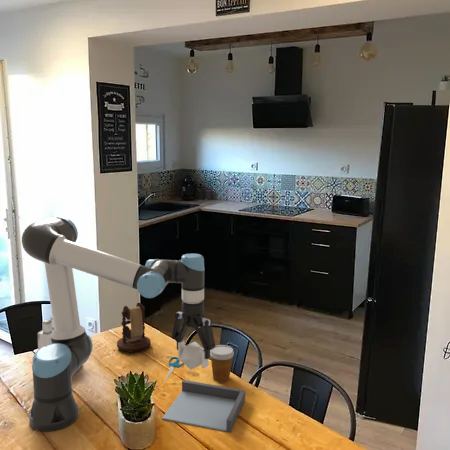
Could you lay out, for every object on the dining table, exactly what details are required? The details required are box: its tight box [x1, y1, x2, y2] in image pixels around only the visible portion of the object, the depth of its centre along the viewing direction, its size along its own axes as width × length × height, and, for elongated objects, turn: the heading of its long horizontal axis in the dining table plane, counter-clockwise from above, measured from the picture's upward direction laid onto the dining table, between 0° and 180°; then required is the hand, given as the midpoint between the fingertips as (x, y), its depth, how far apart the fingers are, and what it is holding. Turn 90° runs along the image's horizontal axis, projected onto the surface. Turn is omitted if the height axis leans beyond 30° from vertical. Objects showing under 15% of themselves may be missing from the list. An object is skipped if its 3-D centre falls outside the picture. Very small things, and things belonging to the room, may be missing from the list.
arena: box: [161, 379, 246, 433], centre depth 158 cm, size 20×24×4 cm
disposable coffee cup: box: [210, 344, 235, 383], centre depth 179 cm, size 10×10×12 cm
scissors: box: [163, 356, 185, 382], centre depth 186 cm, size 7×1×20 cm
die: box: [179, 341, 204, 370], centre depth 157 cm, size 8×9×10 cm
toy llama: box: [37, 316, 84, 367], centre depth 184 cm, size 8×18×20 cm, turn 74°
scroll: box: [116, 302, 151, 354], centre depth 204 cm, size 15×15×20 cm
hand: (193, 362), depth 158 cm, fingers closed on die, 9 cm apart
